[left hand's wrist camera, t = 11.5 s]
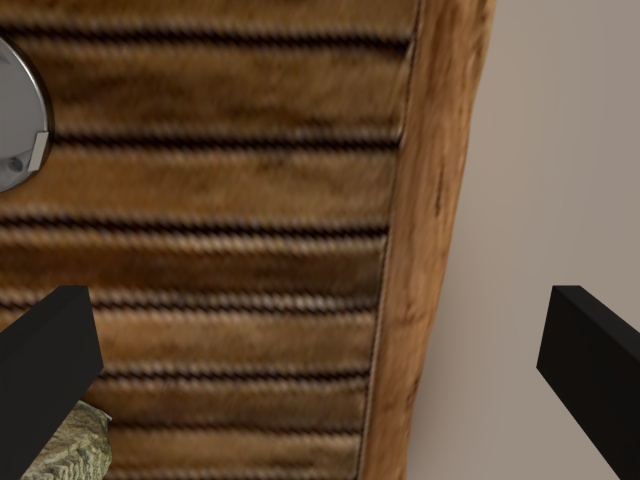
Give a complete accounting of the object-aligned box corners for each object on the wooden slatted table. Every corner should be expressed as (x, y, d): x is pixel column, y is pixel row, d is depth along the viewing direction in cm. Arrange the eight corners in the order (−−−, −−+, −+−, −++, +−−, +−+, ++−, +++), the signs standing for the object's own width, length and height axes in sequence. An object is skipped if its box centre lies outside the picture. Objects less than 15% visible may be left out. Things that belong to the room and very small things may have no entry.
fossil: (129, 449, 52) (59, 586, 38) (-31, 432, 51) (-163, 566, 37) (128, 389, 49) (53, 513, 35) (-42, 370, 48) (-190, 490, 34)
